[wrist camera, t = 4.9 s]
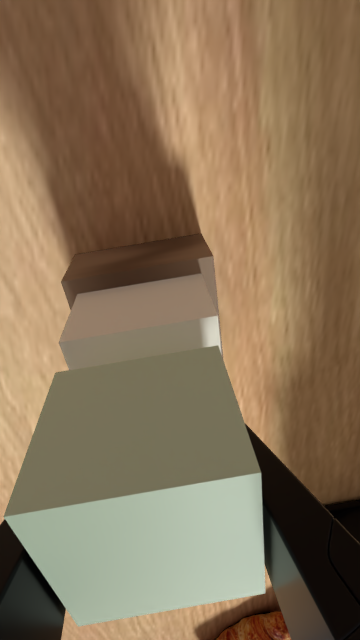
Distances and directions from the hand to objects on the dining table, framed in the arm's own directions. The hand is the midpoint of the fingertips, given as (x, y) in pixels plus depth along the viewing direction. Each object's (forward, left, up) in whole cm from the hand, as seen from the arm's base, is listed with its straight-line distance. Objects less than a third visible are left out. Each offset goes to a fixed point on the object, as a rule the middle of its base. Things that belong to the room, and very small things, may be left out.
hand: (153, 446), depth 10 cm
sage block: (0, 0, -1) cm, 1 cm away
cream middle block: (0, 0, -6) cm, 6 cm away
